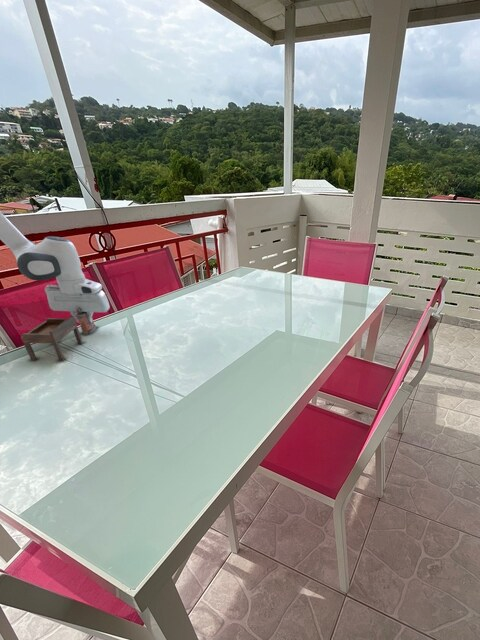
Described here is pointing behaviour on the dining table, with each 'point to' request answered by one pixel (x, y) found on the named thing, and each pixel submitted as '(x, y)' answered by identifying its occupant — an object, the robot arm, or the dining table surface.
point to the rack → (51, 334)
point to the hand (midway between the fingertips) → (85, 322)
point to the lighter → (85, 322)
